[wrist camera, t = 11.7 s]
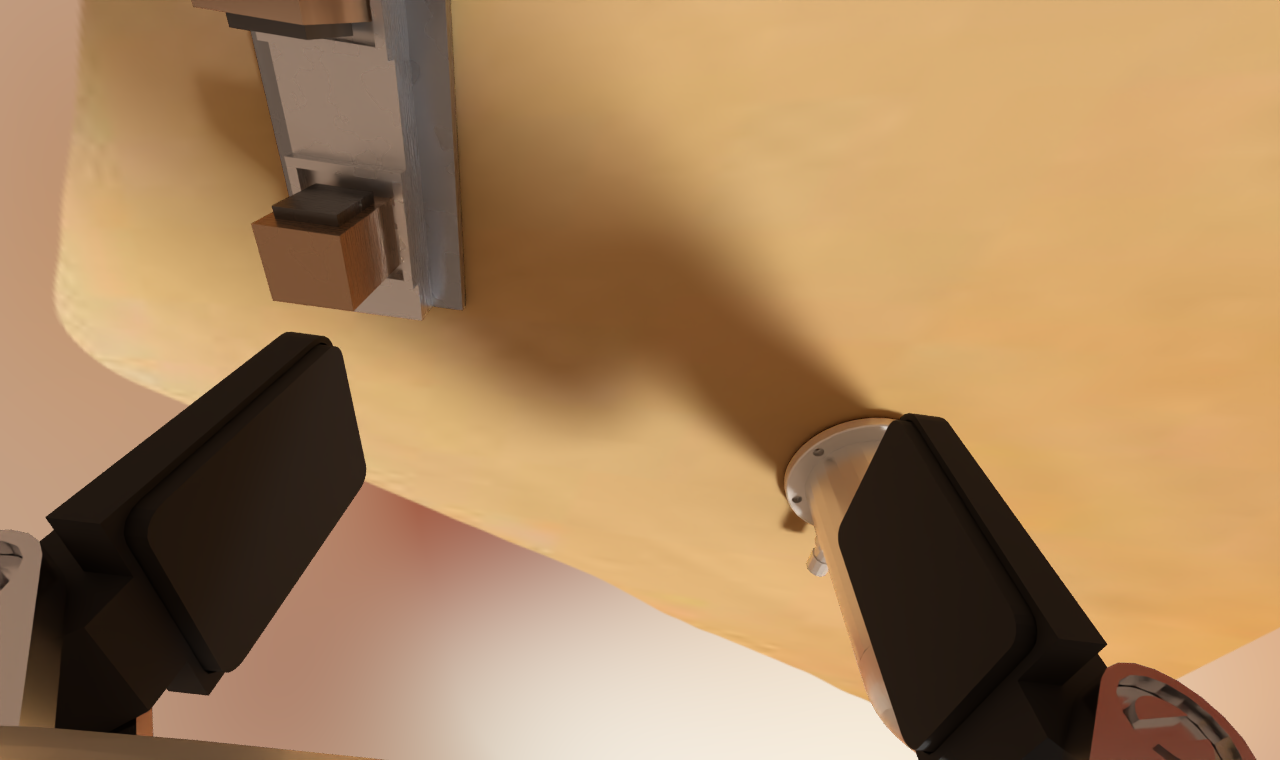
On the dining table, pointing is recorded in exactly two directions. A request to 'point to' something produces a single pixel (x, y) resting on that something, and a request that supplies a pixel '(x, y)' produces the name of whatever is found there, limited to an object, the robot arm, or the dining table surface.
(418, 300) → the rail
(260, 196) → the dining table surface
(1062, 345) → the dining table surface
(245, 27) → the brown rectangular block
